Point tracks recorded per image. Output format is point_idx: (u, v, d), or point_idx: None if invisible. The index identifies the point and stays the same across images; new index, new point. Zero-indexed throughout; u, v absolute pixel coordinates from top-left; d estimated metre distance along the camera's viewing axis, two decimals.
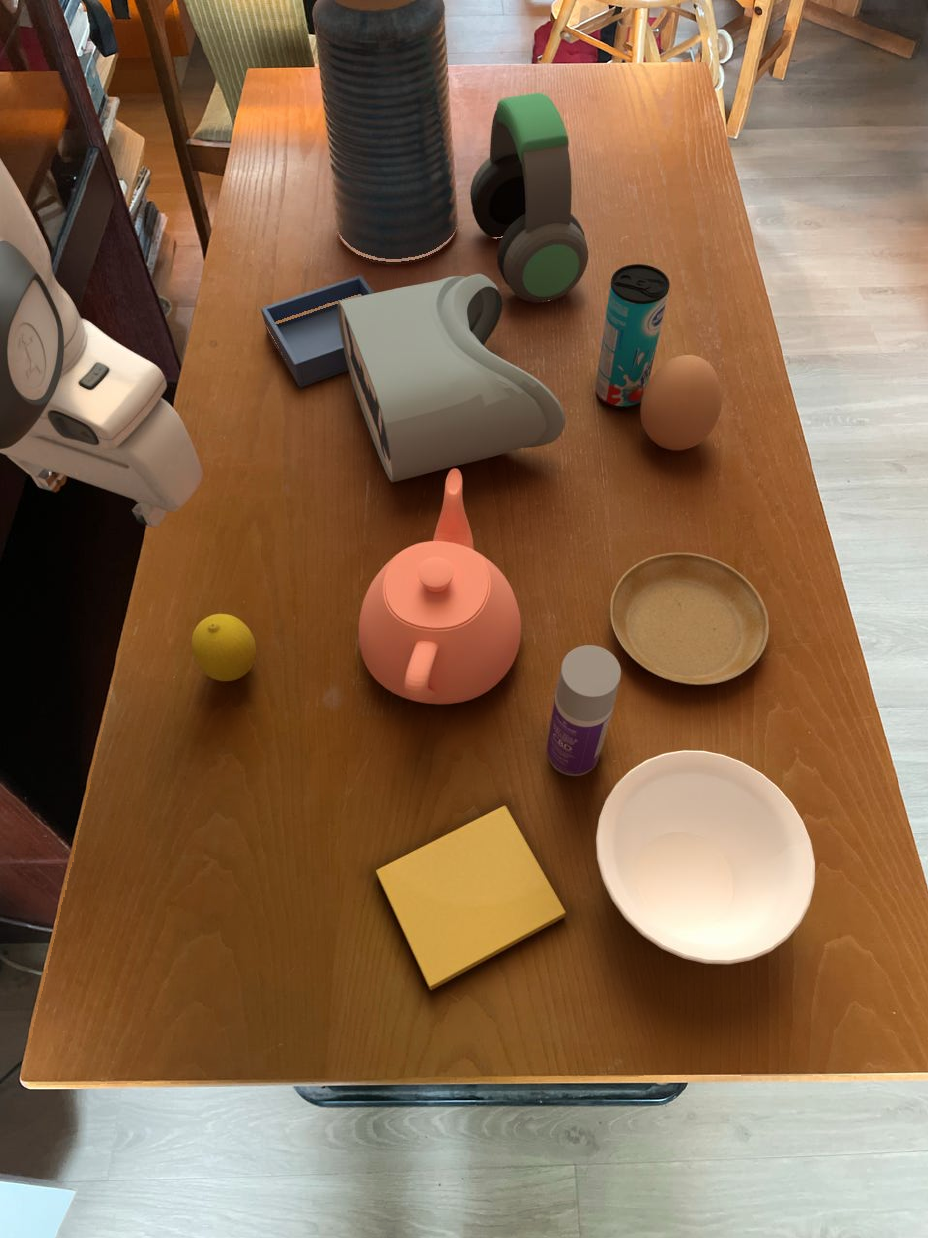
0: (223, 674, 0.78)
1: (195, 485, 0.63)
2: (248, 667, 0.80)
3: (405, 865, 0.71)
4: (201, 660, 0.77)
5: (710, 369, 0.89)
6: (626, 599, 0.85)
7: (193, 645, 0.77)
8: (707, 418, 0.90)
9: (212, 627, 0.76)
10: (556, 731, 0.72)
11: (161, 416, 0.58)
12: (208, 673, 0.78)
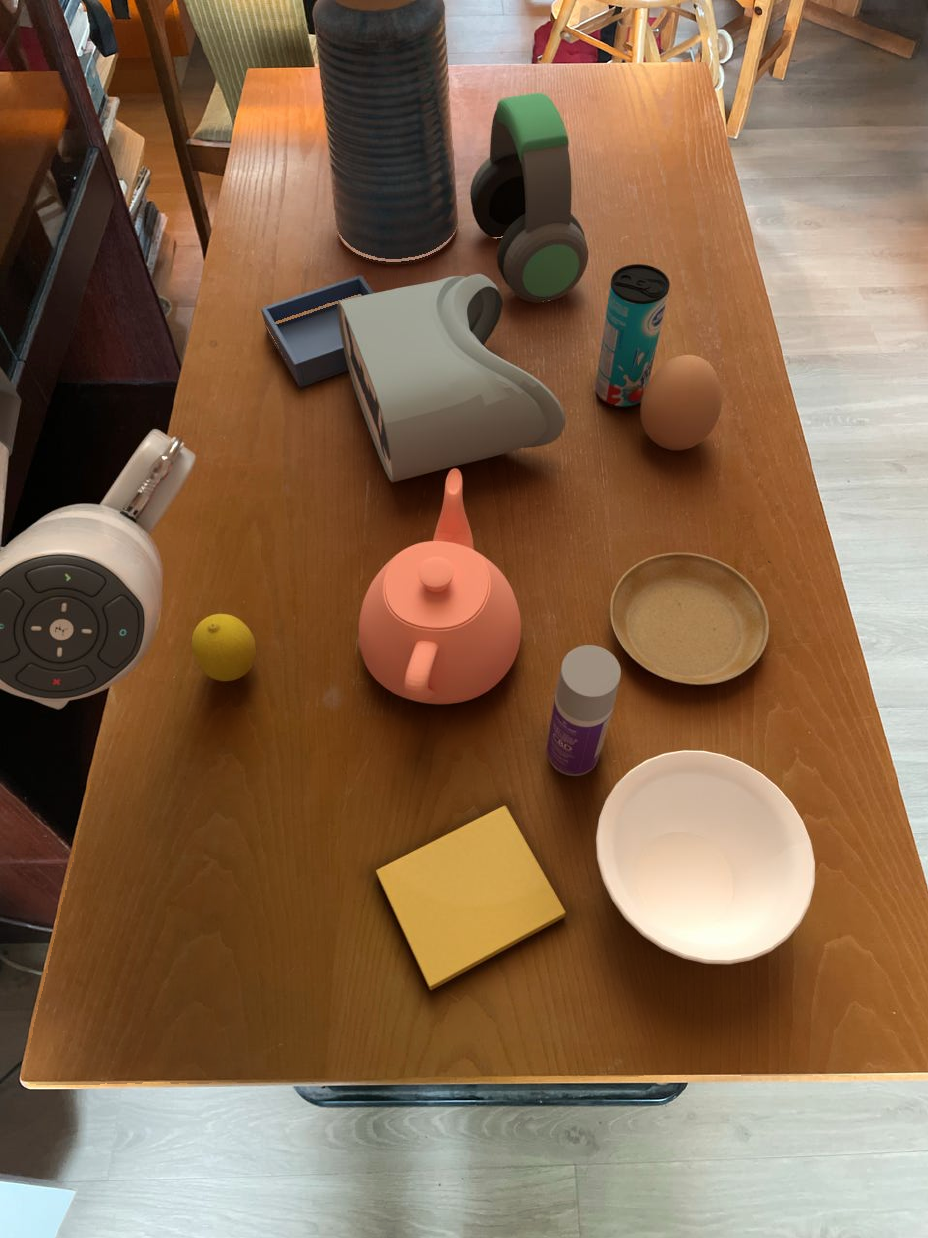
0: (223, 674, 0.78)
1: None
2: (248, 667, 0.80)
3: (405, 865, 0.71)
4: (201, 660, 0.77)
5: (710, 369, 0.89)
6: (626, 599, 0.85)
7: (193, 645, 0.77)
8: (707, 418, 0.90)
9: (212, 627, 0.76)
10: (556, 731, 0.72)
11: None
12: (208, 673, 0.78)
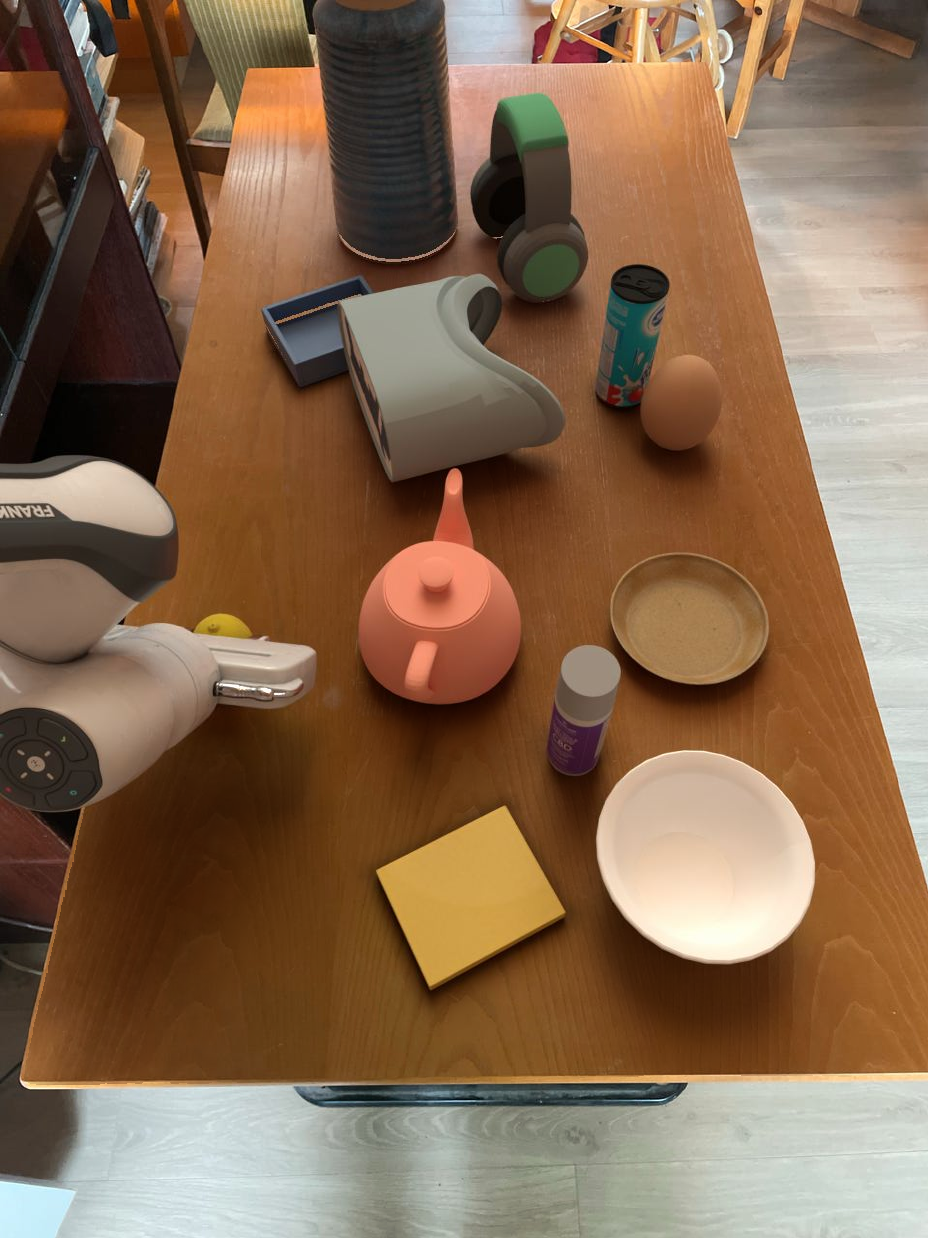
0: None
1: None
2: None
3: (405, 865, 0.71)
4: None
5: (710, 369, 0.89)
6: (626, 599, 0.85)
7: None
8: (707, 418, 0.90)
9: (212, 627, 0.76)
10: (556, 731, 0.72)
11: None
12: None
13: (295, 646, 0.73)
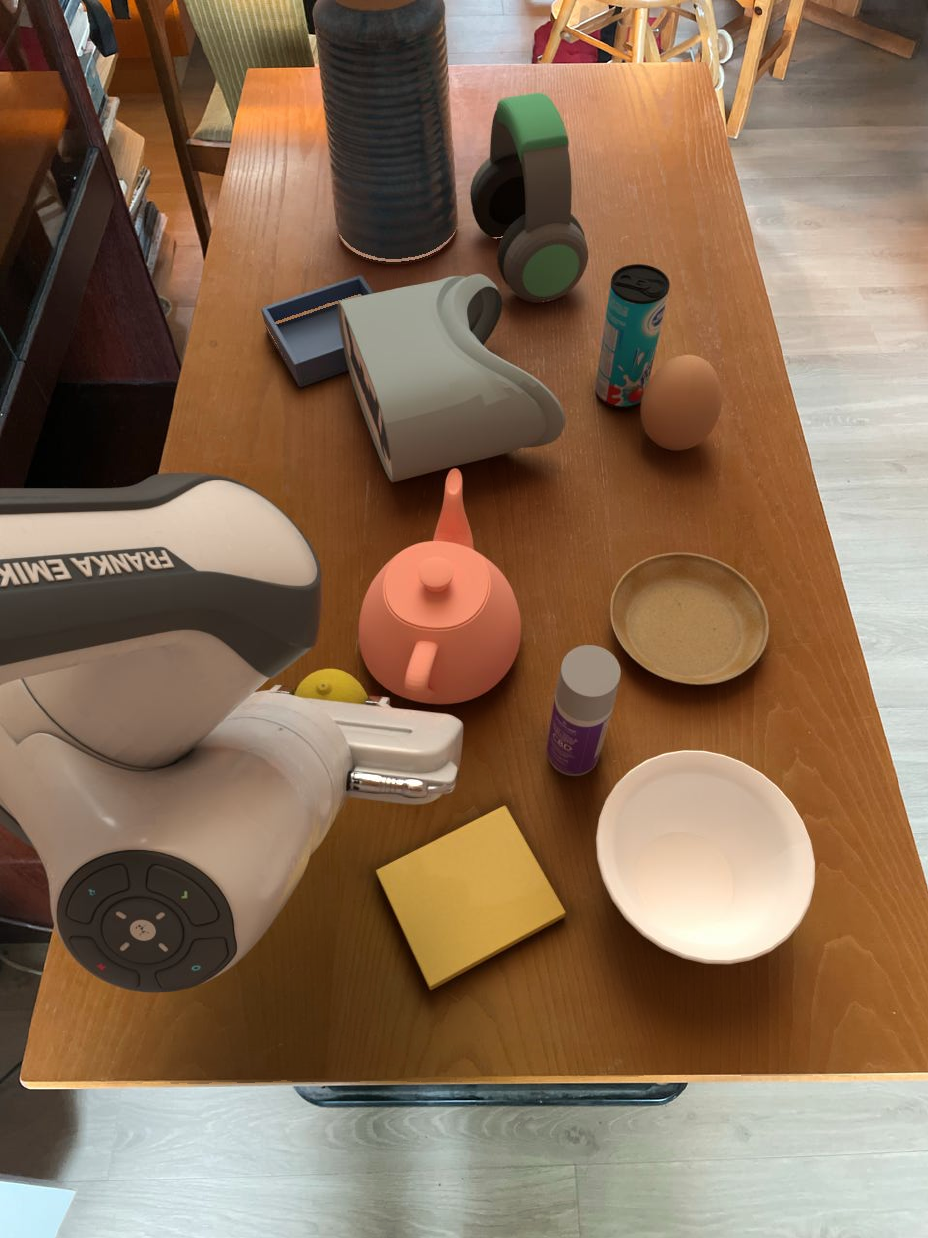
0: None
1: None
2: None
3: (405, 865, 0.71)
4: None
5: (710, 369, 0.89)
6: (626, 599, 0.85)
7: None
8: (707, 418, 0.90)
9: (322, 688, 0.60)
10: (556, 731, 0.72)
11: None
12: None
13: (436, 716, 0.56)
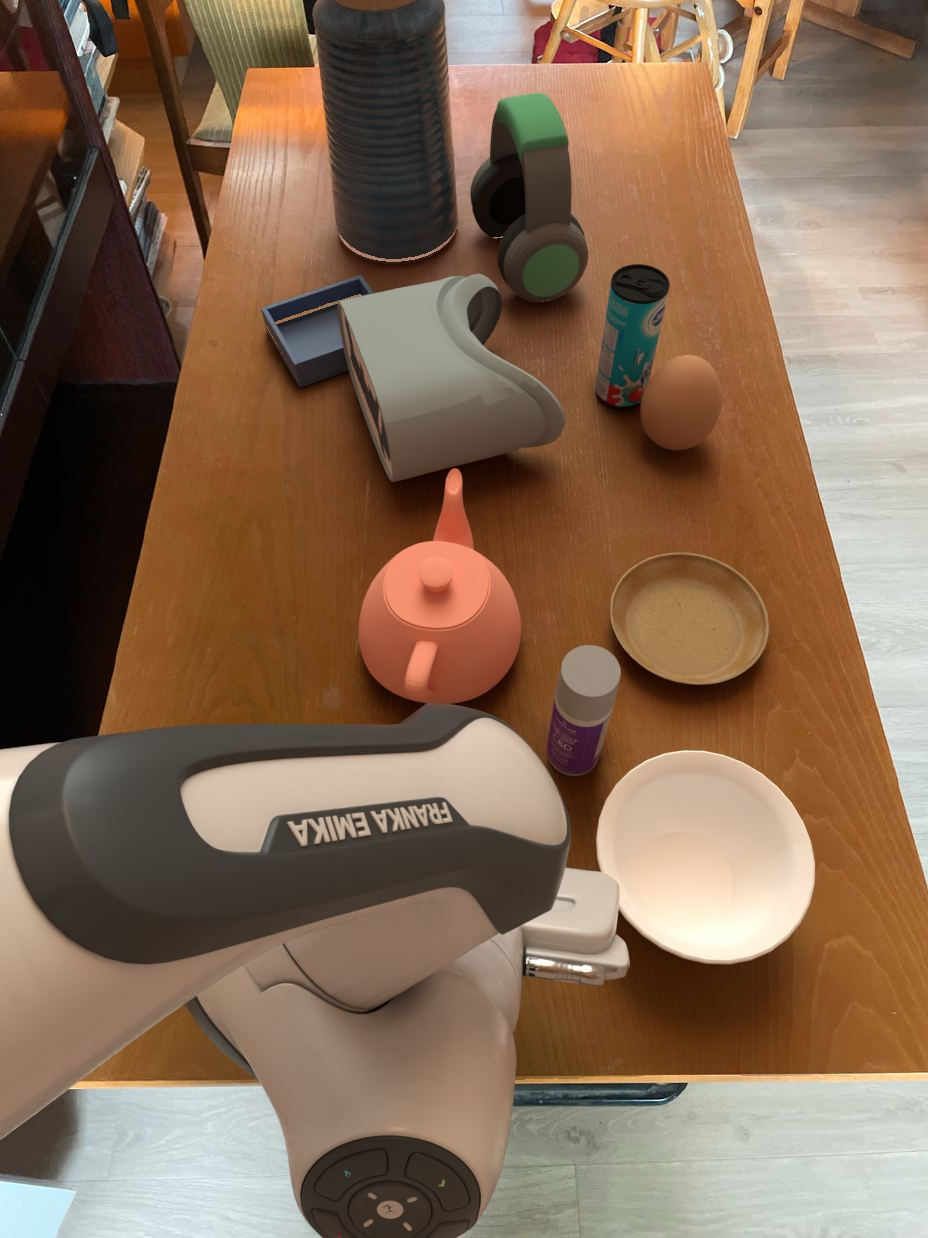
0: None
1: None
2: None
3: None
4: None
5: (710, 369, 0.89)
6: (626, 599, 0.85)
7: None
8: (707, 418, 0.90)
9: None
10: (556, 731, 0.72)
11: None
12: None
13: (591, 877, 0.55)
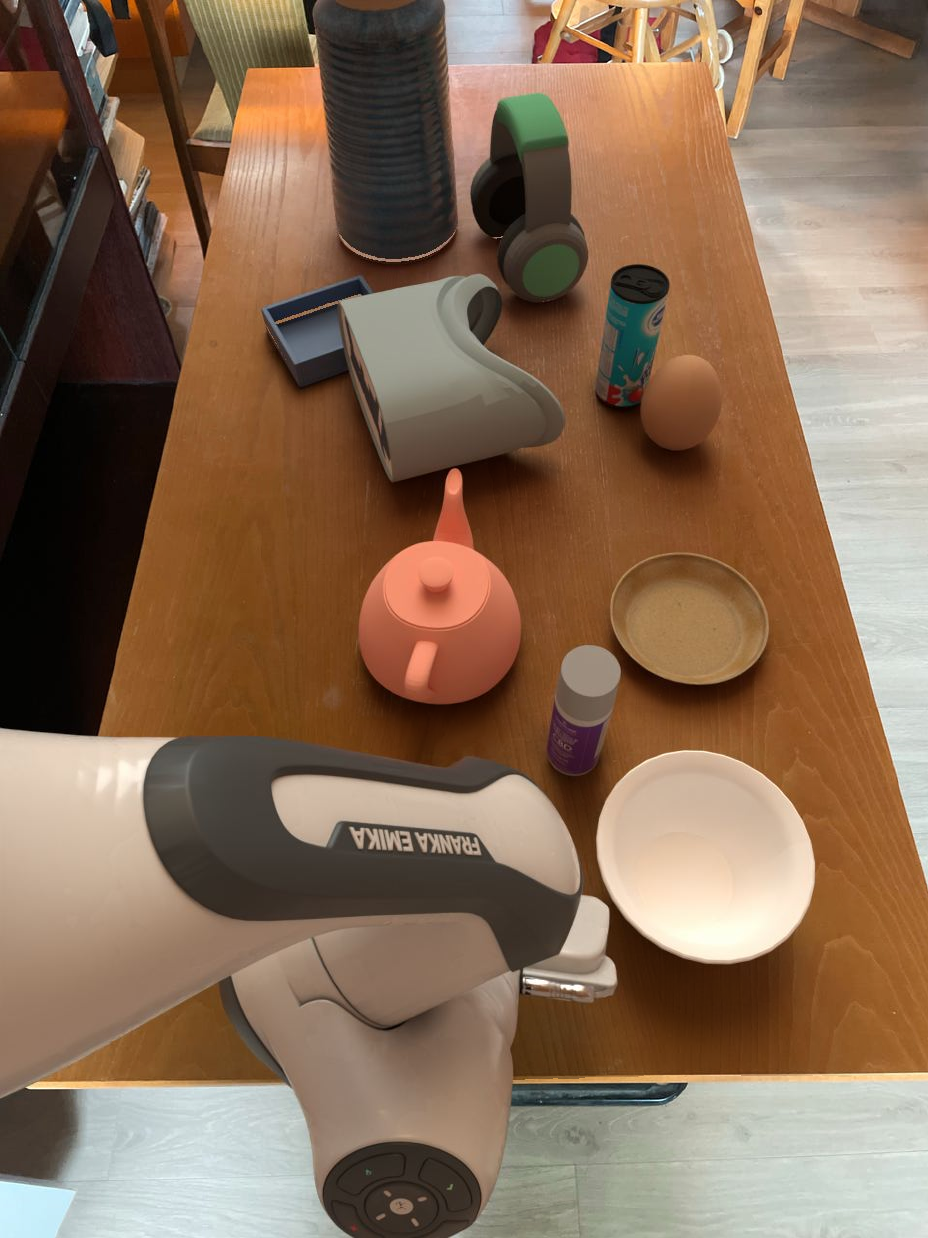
0: None
1: None
2: None
3: None
4: None
5: (710, 369, 0.89)
6: (626, 599, 0.85)
7: None
8: (707, 418, 0.90)
9: None
10: (556, 731, 0.72)
11: None
12: None
13: (583, 901, 0.60)
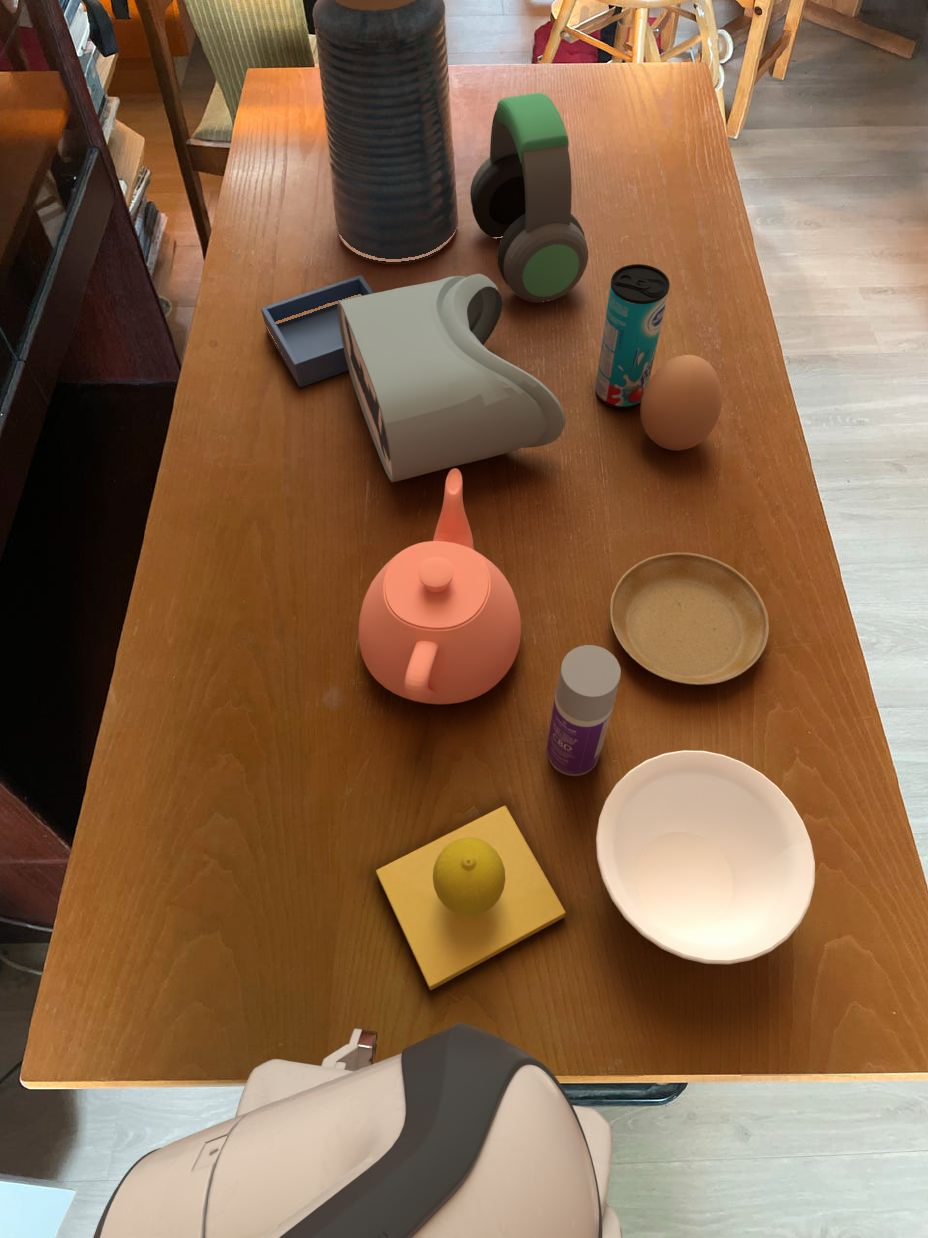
0: (474, 913, 0.65)
1: None
2: None
3: (405, 865, 0.71)
4: (451, 900, 0.64)
5: (710, 369, 0.89)
6: (626, 599, 0.85)
7: (441, 881, 0.64)
8: (707, 418, 0.90)
9: (468, 865, 0.63)
10: (556, 731, 0.72)
11: None
12: (454, 911, 0.66)
13: (579, 1118, 0.47)
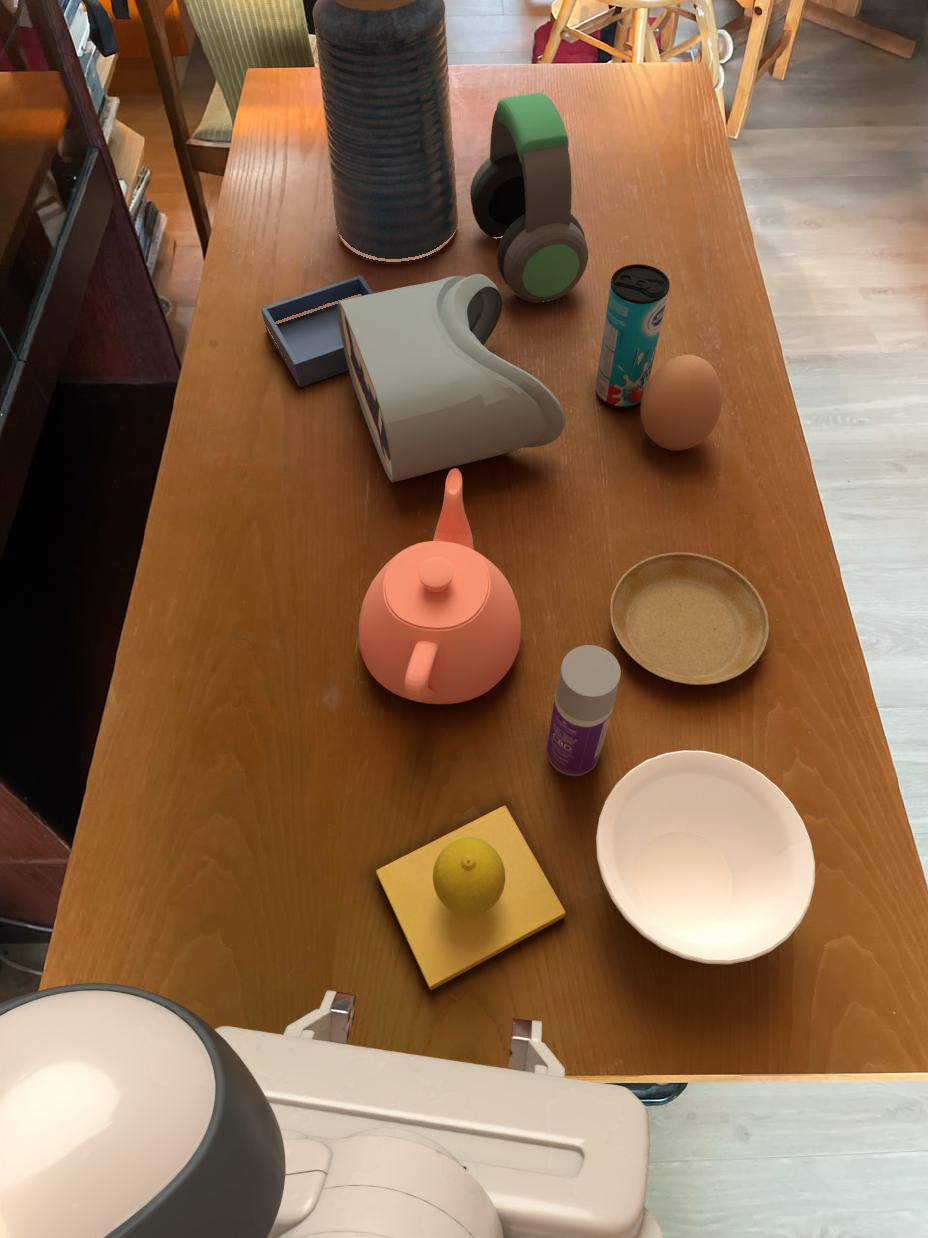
0: (474, 913, 0.65)
1: None
2: None
3: (405, 865, 0.71)
4: (451, 900, 0.64)
5: (710, 369, 0.89)
6: (626, 599, 0.85)
7: (441, 881, 0.64)
8: (707, 418, 0.90)
9: (468, 865, 0.63)
10: (556, 731, 0.72)
11: None
12: (454, 911, 0.66)
13: (607, 1098, 0.37)
